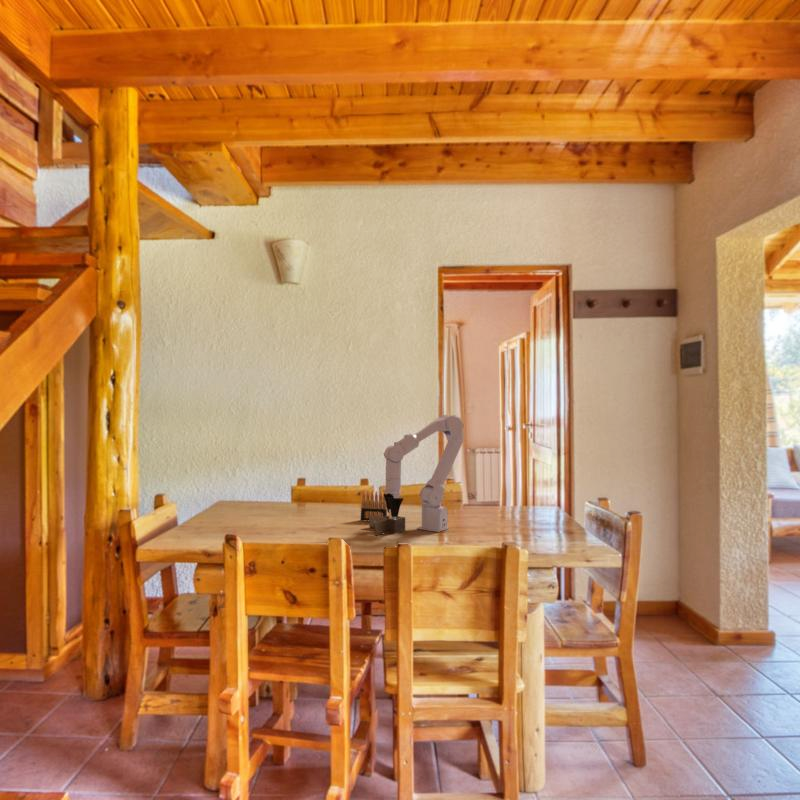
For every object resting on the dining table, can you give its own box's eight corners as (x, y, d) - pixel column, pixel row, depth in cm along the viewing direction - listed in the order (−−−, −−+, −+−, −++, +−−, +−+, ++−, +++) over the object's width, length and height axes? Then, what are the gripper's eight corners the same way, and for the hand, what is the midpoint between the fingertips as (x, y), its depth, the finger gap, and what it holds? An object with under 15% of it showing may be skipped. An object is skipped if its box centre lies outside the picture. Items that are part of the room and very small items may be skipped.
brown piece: (405, 530, 226) (405, 517, 226) (383, 537, 214) (384, 523, 214) (375, 525, 233) (375, 513, 233) (353, 532, 222) (353, 518, 222)
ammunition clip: (360, 520, 243) (360, 491, 243) (361, 520, 245) (362, 490, 245) (386, 522, 241) (386, 492, 241) (387, 521, 243) (387, 491, 243)
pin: (397, 530, 225) (397, 509, 225) (393, 532, 223) (393, 510, 223) (391, 529, 227) (391, 508, 227) (387, 531, 224) (387, 509, 224)
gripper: (379, 475, 231) (378, 511, 231) (386, 480, 217) (385, 518, 217) (397, 475, 232) (396, 511, 232) (405, 480, 218) (404, 518, 218)
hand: (392, 514), depth 225 cm, fingers open, 7 cm apart
